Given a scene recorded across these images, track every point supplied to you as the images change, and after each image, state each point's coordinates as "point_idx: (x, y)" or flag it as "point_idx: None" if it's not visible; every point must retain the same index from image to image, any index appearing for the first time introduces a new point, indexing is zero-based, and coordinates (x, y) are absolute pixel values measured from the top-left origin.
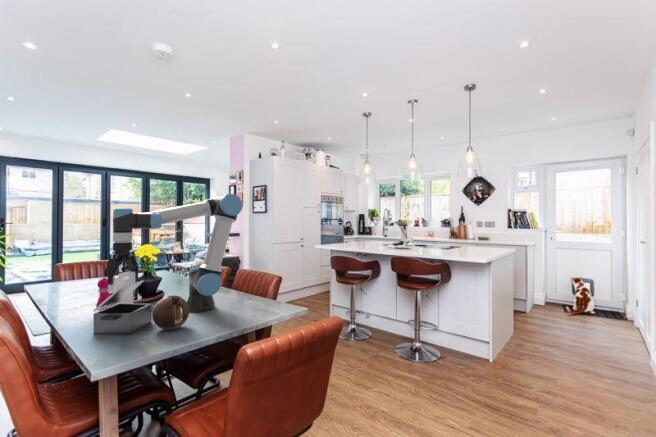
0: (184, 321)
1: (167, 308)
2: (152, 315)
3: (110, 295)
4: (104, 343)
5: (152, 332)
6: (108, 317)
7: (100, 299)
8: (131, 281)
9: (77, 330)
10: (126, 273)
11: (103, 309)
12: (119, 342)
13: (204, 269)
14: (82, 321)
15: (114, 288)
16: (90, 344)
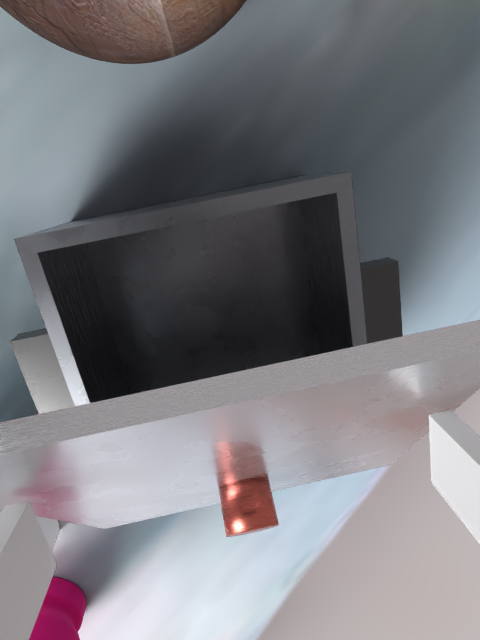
0: None
1: None
2: (239, 6)
3: (457, 407)
4: (442, 206)
5: (233, 48)
6: (399, 307)
7: None
8: (19, 587)
9: (298, 497)
10: None
11: (66, 619)
12: (422, 130)
13: None
14: (183, 590)
15: (472, 439)
16: (459, 267)
